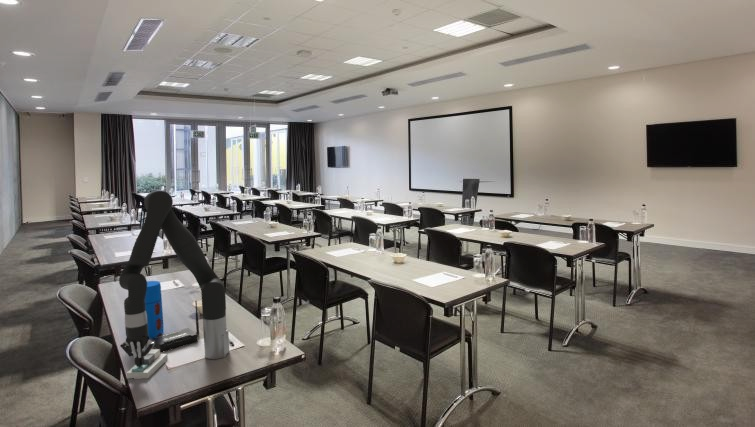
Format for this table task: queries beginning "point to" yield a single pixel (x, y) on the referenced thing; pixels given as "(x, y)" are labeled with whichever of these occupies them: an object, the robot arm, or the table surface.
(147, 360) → the key
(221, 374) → the table surface
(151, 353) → the key
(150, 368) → the keypad
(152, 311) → the thermos
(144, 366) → the key
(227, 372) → the table surface
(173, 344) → the black wifi router
